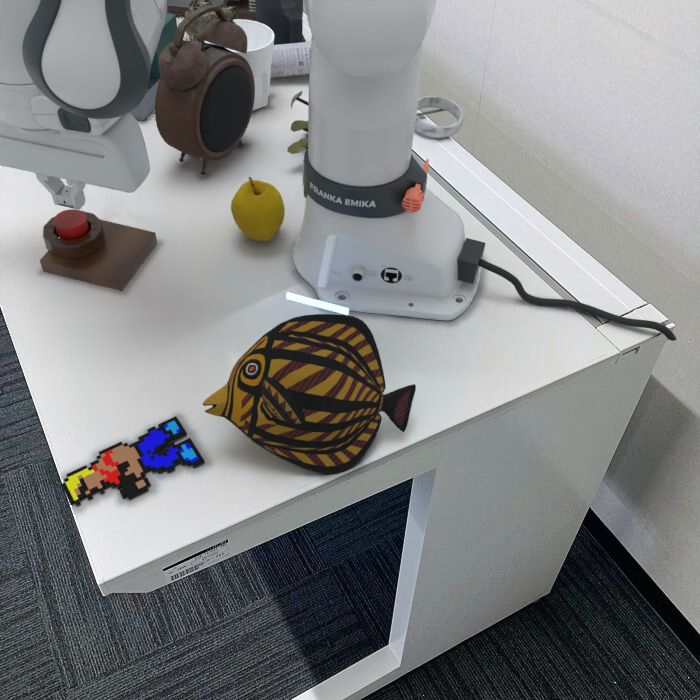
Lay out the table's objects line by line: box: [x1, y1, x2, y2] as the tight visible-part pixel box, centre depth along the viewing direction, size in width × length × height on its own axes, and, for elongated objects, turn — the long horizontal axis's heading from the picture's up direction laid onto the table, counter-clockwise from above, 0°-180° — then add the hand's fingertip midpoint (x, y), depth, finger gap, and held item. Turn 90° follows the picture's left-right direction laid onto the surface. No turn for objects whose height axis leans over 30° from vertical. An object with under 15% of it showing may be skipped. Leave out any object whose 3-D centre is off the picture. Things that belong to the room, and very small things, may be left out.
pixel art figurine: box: [60, 416, 205, 507], centre depth 71 cm, size 6×1×12 cm
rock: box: [183, 0, 238, 41], centre depth 129 cm, size 6×9×10 cm
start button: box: [54, 208, 89, 240], centre depth 88 cm, size 4×4×2 cm
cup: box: [204, 19, 274, 112], centre depth 113 cm, size 10×10×10 cm
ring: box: [414, 95, 465, 139], centre depth 113 cm, size 8×8×2 cm
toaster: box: [129, 13, 178, 122], centre depth 113 cm, size 12×14×10 cm
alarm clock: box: [154, 5, 255, 177], centre depth 99 cm, size 15×7×20 cm, turn 150°
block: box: [39, 210, 158, 292], centre depth 90 cm, size 11×9×4 cm
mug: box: [255, 0, 307, 45], centre depth 122 cm, size 12×9×11 cm
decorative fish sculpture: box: [202, 313, 417, 475], centre depth 73 cm, size 14×16×12 cm
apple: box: [230, 176, 286, 242], centre depth 92 cm, size 6×6×8 cm
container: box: [270, 41, 311, 79], centre depth 120 cm, size 5×5×15 cm
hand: (70, 204), depth 86 cm, fingers closed
